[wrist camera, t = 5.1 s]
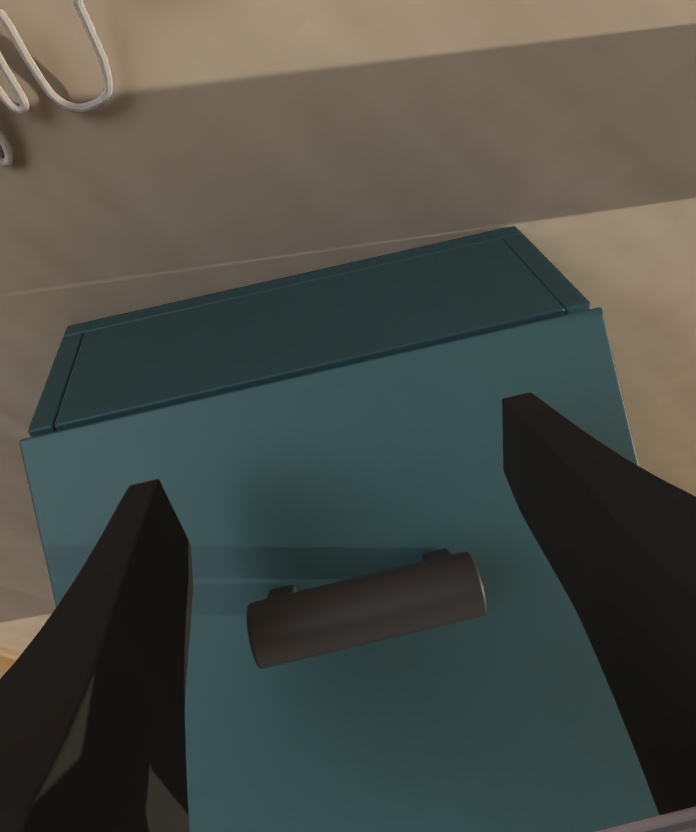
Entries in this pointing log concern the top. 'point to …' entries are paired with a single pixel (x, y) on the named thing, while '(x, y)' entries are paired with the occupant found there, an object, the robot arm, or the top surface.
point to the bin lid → (372, 591)
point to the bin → (300, 326)
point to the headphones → (24, 104)
